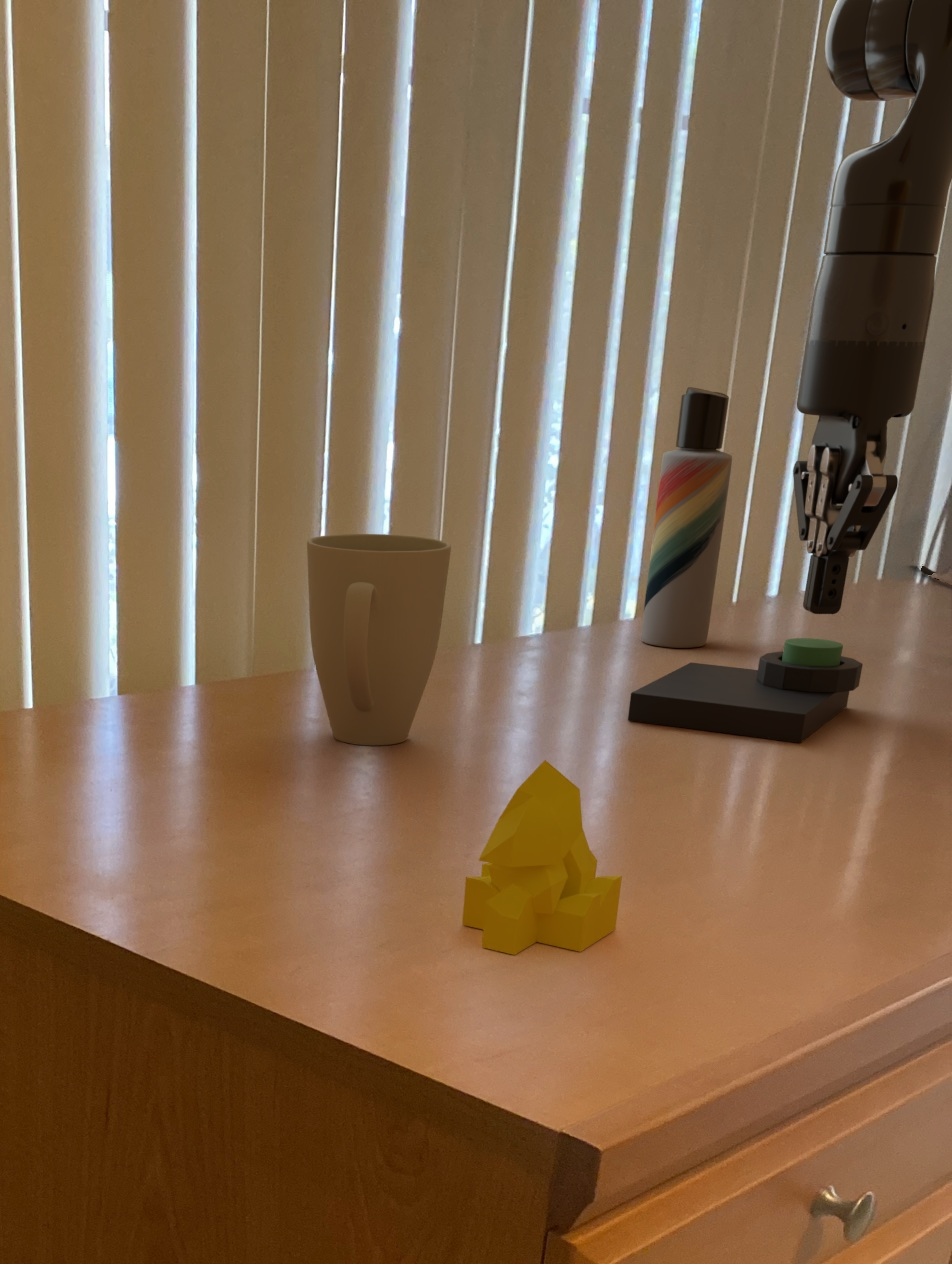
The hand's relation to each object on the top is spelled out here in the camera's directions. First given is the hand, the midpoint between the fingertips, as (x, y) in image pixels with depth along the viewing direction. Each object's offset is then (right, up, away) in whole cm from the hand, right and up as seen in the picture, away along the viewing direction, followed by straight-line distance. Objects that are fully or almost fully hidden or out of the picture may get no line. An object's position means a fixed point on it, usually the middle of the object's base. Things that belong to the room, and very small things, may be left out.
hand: (820, 611), depth 115 cm
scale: (-5, -7, +1) cm, 9 cm away
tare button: (0, -3, +2) cm, 4 cm away
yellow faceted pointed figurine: (-26, -29, -41) cm, 57 cm away
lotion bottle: (-4, +7, +27) cm, 28 cm away
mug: (-32, -12, -9) cm, 35 cm away
